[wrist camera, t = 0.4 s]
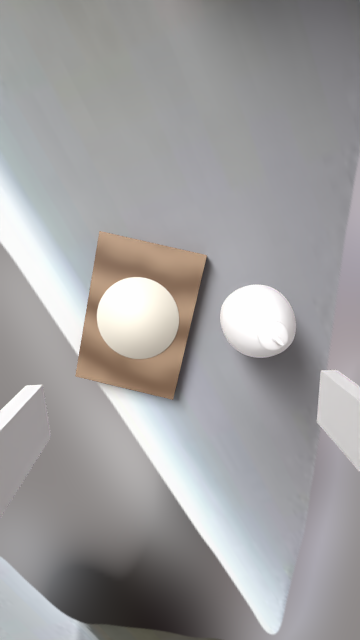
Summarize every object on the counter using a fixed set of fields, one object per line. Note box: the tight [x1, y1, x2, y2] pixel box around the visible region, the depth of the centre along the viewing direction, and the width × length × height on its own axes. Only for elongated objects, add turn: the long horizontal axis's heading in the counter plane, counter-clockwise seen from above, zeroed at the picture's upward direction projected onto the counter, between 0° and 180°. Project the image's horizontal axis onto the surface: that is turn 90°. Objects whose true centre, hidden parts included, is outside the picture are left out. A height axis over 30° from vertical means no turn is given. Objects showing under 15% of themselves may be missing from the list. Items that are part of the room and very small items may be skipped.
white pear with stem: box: [220, 285, 296, 358], centre depth 31 cm, size 8×8×18 cm
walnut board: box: [76, 231, 207, 400], centre depth 40 cm, size 20×14×2 cm
